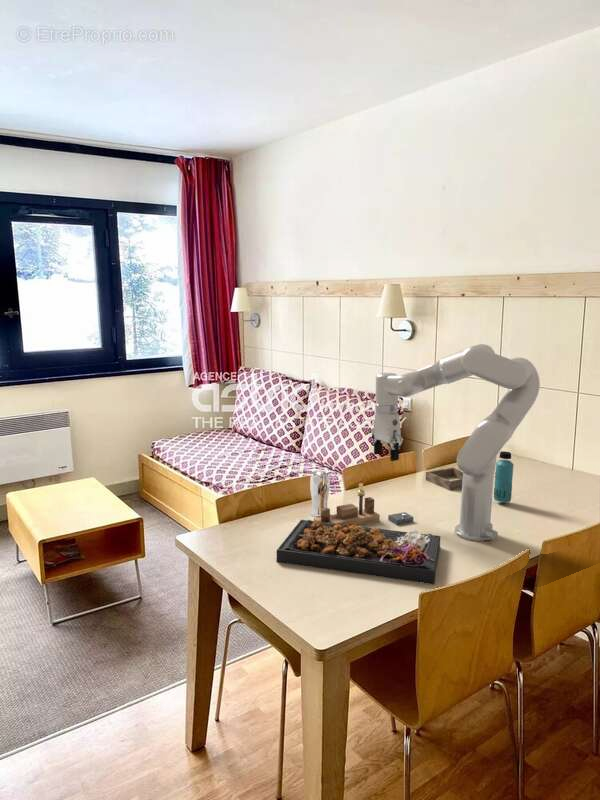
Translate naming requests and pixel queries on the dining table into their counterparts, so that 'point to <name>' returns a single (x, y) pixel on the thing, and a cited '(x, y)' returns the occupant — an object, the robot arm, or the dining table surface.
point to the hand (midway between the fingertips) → (386, 457)
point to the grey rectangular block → (400, 518)
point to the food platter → (362, 550)
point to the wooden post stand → (351, 514)
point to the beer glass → (319, 491)
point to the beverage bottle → (503, 478)
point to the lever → (361, 490)
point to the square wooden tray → (439, 476)
